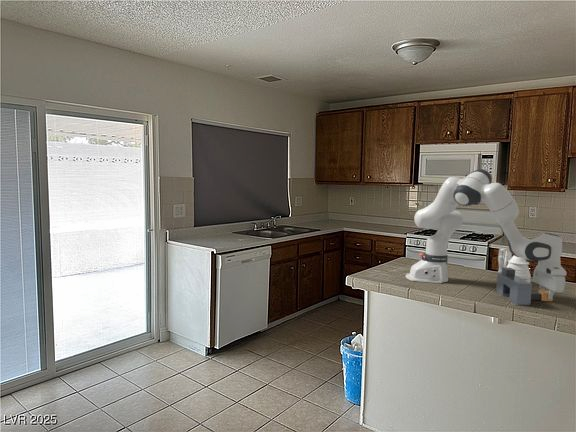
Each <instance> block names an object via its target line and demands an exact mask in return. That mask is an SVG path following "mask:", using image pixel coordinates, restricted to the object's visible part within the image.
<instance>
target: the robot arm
mask: <svg viewBox="0 0 576 432" xmlns="http://www.w3.org/2000/svg"><path fill="white" fill-rule="evenodd" d="M510 193H511V192H509V191H508V189H506V187H505V186H504V185H503V184H502V183H500V182H493V177H492V175H491V173H490V172H489V171H487V170H485V169H483V168H481V169H476V170H473V171H471V172H469V173H468V174H465V177H463V178H460V177H458V176H450V177H448V178H446V180H445V181H444V182H443V183H442V185H441V187H440V188H439V190H438V193H437V194H436V196H435V199H434V200H433V201H432V202H431V203H430V204H429V205H427V206H425V207H424V208H421V209H418V210H417V211H416V212H415V214H414V217H413V218H414V219H413V220H414V223H415V225H416V226H417V227H418V228H420V229H427V230H437V231H436V232H435V233H434V234H433V235H430V236H429V237H428V238H427V239H426V241H425V242H426V243H425V244H426V246H425V253H424V252H420V253H419V257H421V259H420V260H419V261H418V262H416V263H414V264H412V265H411V267H410V271H409V272H407V273H406V274H405V278H406V279H408V280H409V281H413V282H420V283H430V284H431V283H432V284H443V283H446V282H448V281H449V277H448V270H447V265H448V261H449V260H448V257H449V256H448V247H449V241H450V238H451V236H452V235H453V234H454V232H455V231H457V230H458V229H459V228H460V227H462V225H463V223H464V216H463V214H462V212H460V211H458V210H456V209H457V207H458V205H460V206H463V207H464V206H465V207H470V206H473V205H474V206H475V205H476V206H478V205H480V203H481V202H482V203H484V204H485V205H486V207H487V209H488V210H489V211H490V213H491V215H492V216H493V217H494V219H495V221H496V222H497V224H498V227H499V228H500V229H501V232H503V233H502V234H504V237H505V239H506V240H507V244H508V249H509V250H510V252H511V253H512V255H513V256H516V257H521V258H524V259H525V260H526V261H531V262H537V265H536V266H535V267H534V270H533V275H532V281H533V282H534V283H535V284H537V285H539V290H546V289H548V291H549V294H547V298H549V299H553V300H554V295H555V294H556V293H564V291H565V287H566V276H567V273H568V272H567V271H566V270H565V268H564V267H563V266H562V265H561V264H562V263H561V256H562V253H563V241H562V237H561V236H560V235H557V234H553V233H548V232H543V233H542V234H541V235H539V236H537V237H535V238H532V239H531V238H527V237H525V236H524V235H522V234H521V232H520V231H519V229H518V228H517V225H516V224H515V220H516V219H517V218H518V216H519V215H520V209H519V205H518V204H517V202H516V200H515V199H514V198H513V195H512V194H510Z"/></svg>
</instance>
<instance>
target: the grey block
mask: <svg viewBox="0 0 576 432" xmlns="http://www.w3.org/2000/svg"><path fill="white" fill-rule="evenodd" d="M496 276H497V278H496V289H495V291H496V294H497V293H498V295H500V296H502V297H508V299H509V300H510V302H511V303H513V304H514V305H515V306H527V307H528V306H529V307H530V306H531V302H532V300H531V292H533V291H532V290H533V283H531V282H530V283H529V282H527V281H525V280H523V279H521V278H519V277H518V276H516V275H515V270H514V269H512V268H507V267H502V272H498V271H497V275H496ZM509 296H510V297H509Z"/></svg>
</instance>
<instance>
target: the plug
mask: <svg viewBox="0 0 576 432" xmlns="http://www.w3.org/2000/svg"><path fill="white" fill-rule="evenodd" d="M547 294H549V289H548V290H546V289H545V290H540V289H538V290H537V292H534V291H532V292H531V301H534V300H535V301H541V302H553V301H554V298H553V299H549V298H547ZM509 297H510V296H508V298H509Z"/></svg>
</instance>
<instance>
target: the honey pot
mask: <svg viewBox="0 0 576 432" xmlns="http://www.w3.org/2000/svg"><path fill="white" fill-rule="evenodd" d="M508 262H509V264H508V266H507V268H512V269H514V270H515V275H516V276H518V277H519V278H521V279H523V280H525V281H527V282H529V283H531V276H532V275H531V272H530V268H529V265H530V262H529V261H527V259H524V258H521V257H516V256H514V255H513V256H512V258H511V260H509V261H508Z"/></svg>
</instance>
